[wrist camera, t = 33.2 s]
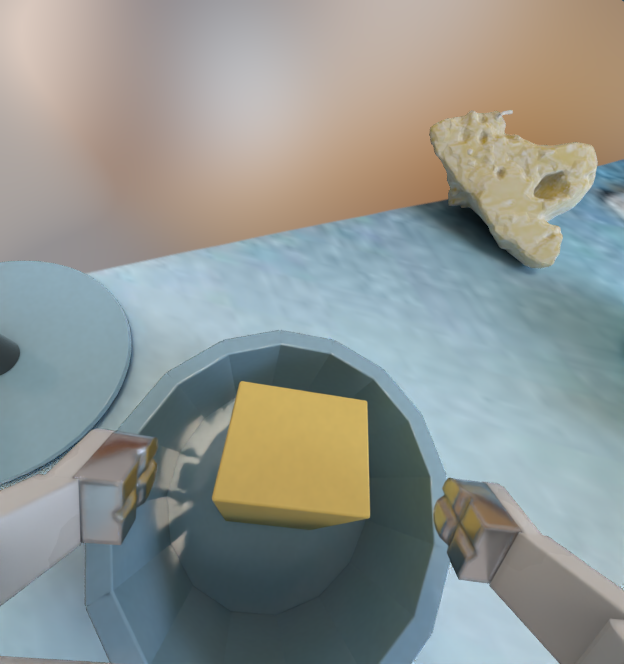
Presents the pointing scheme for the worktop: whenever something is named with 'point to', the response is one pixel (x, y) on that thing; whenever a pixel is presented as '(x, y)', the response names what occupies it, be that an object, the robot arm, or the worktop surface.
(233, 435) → the butter
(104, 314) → the pot lid
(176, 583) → the pot
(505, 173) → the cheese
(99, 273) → the worktop surface
